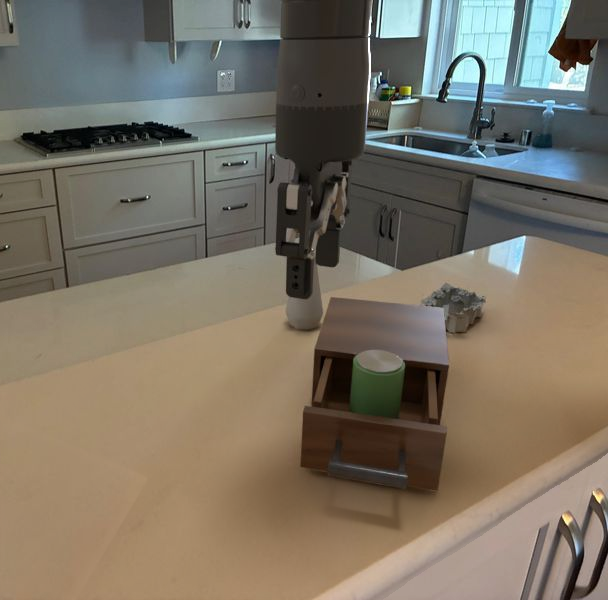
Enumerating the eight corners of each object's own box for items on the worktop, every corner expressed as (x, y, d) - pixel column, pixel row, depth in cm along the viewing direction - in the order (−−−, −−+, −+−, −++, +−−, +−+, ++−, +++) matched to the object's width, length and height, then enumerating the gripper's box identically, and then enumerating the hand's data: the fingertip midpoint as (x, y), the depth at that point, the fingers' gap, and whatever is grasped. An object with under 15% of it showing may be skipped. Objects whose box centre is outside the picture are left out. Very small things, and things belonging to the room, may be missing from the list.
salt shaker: (296, 313, 100) (299, 236, 95) (328, 321, 97) (333, 243, 92) (278, 326, 96) (280, 247, 90) (311, 335, 93) (315, 254, 87)
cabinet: (439, 430, 70) (449, 365, 67) (311, 411, 74) (314, 348, 71) (435, 365, 84) (443, 307, 80) (327, 352, 88) (330, 296, 84)
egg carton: (461, 337, 91) (465, 312, 89) (413, 322, 96) (416, 298, 94) (488, 313, 98) (492, 290, 96) (442, 301, 103) (446, 278, 101)
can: (397, 420, 69) (405, 351, 65) (396, 448, 64) (405, 376, 61) (350, 413, 70) (355, 345, 67) (345, 440, 66) (351, 369, 62)
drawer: (439, 526, 56) (449, 465, 53) (292, 498, 59) (294, 440, 57) (434, 410, 72) (441, 359, 70) (319, 393, 76) (322, 345, 73)
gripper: (343, 108, 43) (332, 317, 50) (385, 90, 55) (371, 261, 61) (245, 106, 46) (246, 302, 53) (305, 89, 58) (299, 251, 64)
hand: (313, 280), depth 57 cm, fingers open, 8 cm apart
